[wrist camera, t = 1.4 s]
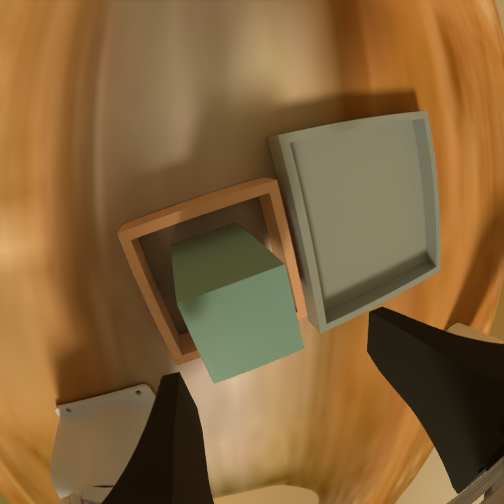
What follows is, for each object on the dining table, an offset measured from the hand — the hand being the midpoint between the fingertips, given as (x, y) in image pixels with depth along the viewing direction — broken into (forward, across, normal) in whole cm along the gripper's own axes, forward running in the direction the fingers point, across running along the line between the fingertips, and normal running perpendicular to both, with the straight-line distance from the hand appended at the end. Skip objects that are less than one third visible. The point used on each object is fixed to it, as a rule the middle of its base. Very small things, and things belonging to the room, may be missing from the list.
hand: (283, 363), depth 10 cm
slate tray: (+11, -11, 0) cm, 16 cm away
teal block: (+11, +1, 0) cm, 11 cm away
